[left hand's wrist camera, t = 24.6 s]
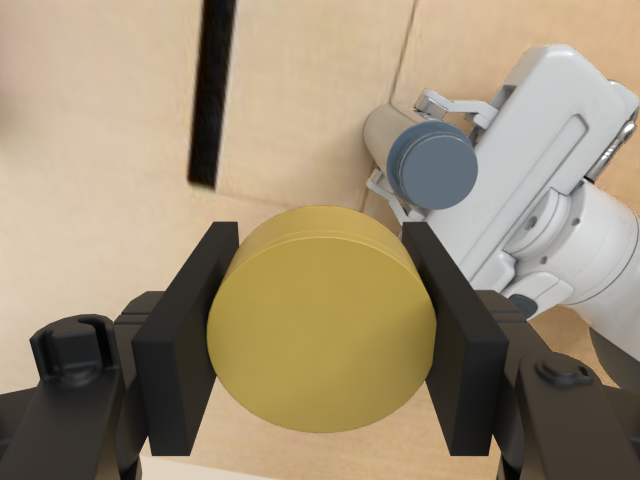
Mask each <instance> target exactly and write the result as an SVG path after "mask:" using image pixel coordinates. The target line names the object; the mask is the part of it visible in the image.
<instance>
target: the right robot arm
mask: <svg viewBox="0 0 640 480" xmlns="http://www.w3.org/2000/svg"><path fill="white" fill-rule="evenodd" d="M639 104H640V101H639V99H638V97H637V96H636V95H635V94H634V93H633V92H632V91H630V90H629V89H628V88H626V87H625V86H623V85H622V84H621V83H619V82H618V81H615V80H612V79H606V78H605V77H604V76H603V75H602V74H601V73H600V72H599V71H598V70H597V69H596V68H595V67H594V66H593V65H592V64H591V63H590V62H589V61H588V60H587V59H586V58H584V57H583V56H582V55H581V54H580V53H578V52H577V51H576V50H575V49H573V48H572V47H570V46H569V45H567V44H562V43H551V44H544V45H540V46H536V47H533V48H530V49H528V50H526V51H525V52H524V54H523V55H522V56H521V58H520V59H519V61H518V62H517V64H516V65H515V67H514V68H513V70H512V71H511V72H510V74H509V75H508V77H507V78H506V80H505V81H504V83H503V84H502V86H501V87H500V88H499V90H498V91H497V93H496V94H495V96H494V97H493V99H492V100H491V102H490V103H489V104H487V103H486V102H483V101H478V100H447V99H446V98H444V97H443V96H441V95H439V94H438V93H436V92H435V91H433V90H431V89H429V88H425V89H424V91H423V92H422V94H421V95H420V97H419V99H418V100H417V102H416V104H415V105H414V108H415V109H416V110H418V111H421V112H423V113H426V114H428V115H431V116H433V117H436V118H438V119H441V120H442V118H443V117H444V115H445V114H446V112H466V113H465V115H464V119H465V120H467V121H468V122H470V123H471V124H473V125H474V126H473V128H472V129H471V131H470V132H469V134H468V135H467V137H468V139H469V140H470V142H471V144H472V147H473V149H474V152H475V154H476V157H477V163H478V176H477V180H476V183H475V185H474V187H473V189H472V191H471V192H470V193H469V195H468V196H467V197H466V198H465V199H464V200H463V201H461V202H460V203H458V204H457V205H455V206H453V207H450V208H447V209H442V210H430V209H426V208H422V207H418V208H417V207H416V206H413V205H410V204H408V203H405V204H404V206H403V208H402V206H401V205H400V203H399V201H398V199H397V197H396V195H395V194H394V191H393V190H392V188H391V187H390V185H389V183H388V182H387V180H386V178H385V177H384V175H383V173H382V172H381V170H380V169H379V167H378V166H376V167H375V169H374V170H373V172H372V174H371V175H370V177H369V178H368V180H367V181H366V186H367V187H368V188H369V189H371V190H372V191H373V192H375V193H377V194H379V195H380V196H382V197H384V198H386V199H387V201H388V203H389V205H390V207H391V208H392V210H393V212H394V214H395V216H396V218H397V219H398V221H399V223H400V225H401V226H403V222H427V223H428V224H429V226H430V227H431V229H432V230H433V232H434V233H435V234H436V236H437V237H438V239H439V240H440V242H441V243H442V245H443V246H444V247H445V249H446V250H447V252H448V253H449V255H450V256H451V257H452V259H453V260H454V262H455V263H456V265H457V266H458V268H459V269H460V270H461V272H462V273H463V275H464V276H465V278H466V279H467V280H468V282H469V283H470V285H471V286H472V288H473V289H474V290H495V291H496V292H498V293H500V294H501V295H503V296H505V297H506V298H508V299H509V300H510V301H511V302H512V303H513V304H514V305H515V307H516V308H517V309H518V310H519V313H520V314H522V315H523V316H524V318H525V319H526V320H527V321H529V320H531V319H532V318H534V317H535V316H537V315H539V314H540V313H542V312H544V311H546V310H548V309H549V308H551V307H553V306H555V305H559V306H563V307H567V308H570V309H573V310H575V311H576V312H577V314H578V315H579V316H580V317H581V318H582V319H583V320H584V321H585V322H587V323H588V324H589V325H591V327H589V330H590V336H591V340H592V343H593V346H594V349H595V351H596V354H597V357H598V359H599V362H600V364H601V366H602V367H603V369H604V370H605V371H606V373H607V374H608V375H609V376H610V378H611V379H612V380H613V381H614V382H615V383H616V384H617V385H618V386H619V387H620V388H621V389H624V390H629V391H634V392H639V393H640V218H639V216H638V215H637V214H636V213H635V212H634V211H633V210H632V209H630V208H629V207H628V206H626V205H625V204H623V203H622V202H620V201H619V200H617V199H615V198H614V197H612V196H611V195H609V194H608V193H606V192H605V191H603V190H601V189H600V188H599V187H597V186H595V185H594V184H595V183H594V182H595V181H596V180H597V178H598V177H599V176H600V175H601V173H602V172H603V171H604V170H605V169H606V167H607V166H608V165H609V163H610V162H611V160H612V159H613V156H615V154H616V153H617V151H618V150H619V149H620V148H621V147H622V145H623V144H625V143H626V142H627V141H628V140H629V139H630V138H631V137H632V135H633V134H634V132H635V130H636V129H637V125H636V124H634V123H635V121H636V119H637V117H638V114H639ZM629 117H630V118H629ZM628 118H629V121H628ZM397 238H398V239H399V240H400V242H401V239H402V231H401V233H400V234H399V236H398V237H397Z"/></svg>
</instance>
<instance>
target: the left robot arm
mask: <svg viewBox="0 0 640 480" xmlns="http://www.w3.org/2000/svg"><path fill="white" fill-rule="evenodd" d="M401 243H402V244H403V245H404V247H405V248H406V250H407V252H408V254H409V255H410V257H411V259H412V261H413V263H414V265H415V267H416V270H417V272H418V274H419V276H420V278H421V280H422V282H423V284H424V286H425V288H426V291H427V293H428V295H429V297H430V299H431V302H432V304H433V307H434V310H435V314H436V319H437V324H436V334H435V343H434V352H433V361H432V366H431V369H430V371H429V373H428V375H427V377H426V379H425V381H426V384H427V387H428V390H429V393H430V396H431V399H432V402H433V405H434V408H435V411H436V414H437V417H438V420H439V423H440V426H441V429H442V432H443V435H444V438H445V441H446V444H447V447H448V450H449V453H450V456H488V455H489V450H490V444H491V439H492V434H493V435H494V438H495V440H496V442H497V444H498V446H499V448H500V450H501V457H500V462H499V467H498V472H497V477H496V480H640V393H639V392H634V391H629V390H624V389H619V388H614V387H610V386H606V385H602V383H601V380H600V379H599V377H598V376H597V375H596V374H595V372H594V371H593V370H592V369H591V368H589V367H588V366H587V365H585V364H584V363H582V362H581V361H579V360H577V359H574V358H572V357H570V356H568V355H565V354H561V353H556V352H552V351H551V349H550V348H549V347H548V346H547V344H546V343H545V342H544V341H543V340H542V338H541V337H540V336H539V335H538V334H537V332H536V331H535V330H534V329H533V327H532V326H531V325H530V324H529V323H527V320H526V319H525V318H524V316H523V315H522V314H520V313H519V310H518V309H517V308H516V307H515V305H514V304H513V303H512V302H511V301H510V300H509V299H508V298H506V297H505V296H503V295H501V294H500V293H498V292H496V291H495V290H474V289H473V288H472V286H471V285H470V283H469V282H468V280H467V279H466V278H465V276H464V275H463V273H462V272H461V270H460V269H459V268H458V266H457V265H456V263H455V262H454V260H453V259H452V257H451V256H450V255H449V253H448V252H447V250H446V249H445V247H444V246H443V245H442V243H441V242H440V240H439V239H438V237H437V236H436V234H435V233H434V232H433V230H432V229H431V227H430V226H429V224H428V223H427V222H403V226H402V239H401ZM238 248H239V235H238V222H213V223H212V225H211V226H210V228H209V229H208V231H207V232H206V233H205V235H204V236H203V238H202V239H201V241H200V242H199V244H198V245H197V246H196V248H195V249H194V251H193V252H192V254H191V255H190V256H189V258H188V259H187V261H186V262H185V264H184V265H183V267H182V268H181V269H180V271H179V272H178V274H177V275H176V277H175V278H174V279H173V281H172V282H171V284H170V285H169V287H168V288H167V290H166V291H147V292H145V293H143V294H142V295H140V296H138V297H137V298H135V299H134V300H132V301H131V302H130V303H129V304H128V305H127V306H126V308H125V309H124V310H123V311H122V313H121V315H119V316H118V318H117V319H116V320H115V321H114V324H113V321H112V320H110V319H109V318H108V317H106V316H102V315H97V314H83V315H76V316H72V317H67V318H63V319H61V320H58V321H55V322H53V323H50V324H48V325H47V326H45V327H43V328H42V329H40V330H38V331H37V332H36V333H35V334H34V335H33V336H32V337H31V338H30V339H29V340H30V344H31V347H32V351H33V355H34V358H35V362H36V365H37V369H38V372H39V376H40V381H39V383H38V385H37V387H34V388H30V389H26V390H21V391H16V392H11V393H6V394H1V395H0V480H141V478H142V468H141V462H140V457H139V453H140V451H141V449H142V447H143V445H144V443H145V440H146V438H147V436H148V437H149V443H150V448H151V454H152V456H190V453H191V450H192V448H193V445H194V442H195V439H196V436H197V433H198V430H199V427H200V424H201V421H202V418H203V415H204V412H205V409H206V406H207V403H208V400H209V397H210V394H211V391H212V388H213V385H214V382H215V379H216V376H217V375H216V373H215V370H214V368H213V366H212V364H211V360H210V356H209V353H208V348H207V339H206V333H207V321H208V316H209V311H210V308H211V306H212V303H213V300H214V298H215V296H216V293H217V291H218V289H219V287H220V285H221V283H222V280H223V278H224V276H225V274H226V272H227V270H228V267H229V265H230V263H231V261H232V259H233V257H234V255H235V253H236V251H237V250H238Z"/></svg>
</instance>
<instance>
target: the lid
mask: <svg viewBox="0 0 640 480" xmlns="http://www.w3.org/2000/svg"><path fill="white" fill-rule="evenodd" d="M436 324H437V319H436V314H435V310H434V307H433V304H432V302H431V299H430V297H429V295H428V293H427V291H426V288H425V286H424V284H423V282H422V280H421V278H420V276H419V274H418V272H417V270H416V267H415V265H414V263H413V261H412V259H411V257H410V255H409V254H408V252H407V250H406V248H405V247H404V245H403V244H402V243H401V242H400V240H399V239H398V238H397V237H396V236H395V235H394V234H393V233H392V232H391V231H390V230H389V229H388V228H387V227H385V226H384V225H382V224H381V223H380V222H378V221H377V220H375V219H373V218H371V217H369V216H368V215H365V214H363V213H360V212H358V211H355V210H351V209H347V208H343V207H337V206H328V205H323V206H307V207H300V208H297V209H293V210H289V211H286V212H284V213H281V214H279V215H276V216H274V217H273V218H271V219H269V220H267V221H266V222H264V223H263V224H261V225H260V226H259V227H257V228H256V229H255V230H254V231H253V232H252V233H251V234H250V235H249V236H248V237H247V238H246V239H245V240H244V241H243V243H242V244H241V245H240V247H239V248H238V250H237V251H236V253H235V255H234V257H233V259H232V261H231V263H230V265H229V267H228V270H227V272H226V274H225V276H224V278H223V280H222V283H221V285H220V287H219V289H218V291H217V293H216V296H215V298H214V300H213V303H212V306H211V308H210V311H209V316H208V321H207V333H206V339H207V348H208V353H209V356H210V360H211V364H212V366H213V368H214V370H215V373H216V375H217V377H218V378H219V380H220V381H221V383H222V385H223V386H224V387H225V389H226V390H227V391H228V392H229V394H230V395H231V396H232V397H233V398H234V399H235V400H236V401H237V402H238V403H239V404H240V405H242V406H243V407H244V408H246V409H247V410H248V411H250V412H251V413H253V414H254V415H256V416H258V417H260V418H261V419H263V420H265V421H268V422H270V423H272V424H275V425H278V426H281V427H284V428H287V429H291V430H296V431H301V432H310V433H334V432H343V431H348V430H353V429H357V428H360V427H363V426H366V425H370V424H372V423H374V422H376V421H379V420H381V419H383V418H384V417H386V416H388V415H390V414H391V413H393V412H394V411H396V410H397V409H398V408H400V407H401V406H402V405H404V404H405V403H406V402H407V401H408V400H409V399H410V398H411V397H412V396H413V395H414V394H415V393H416V391H417V390H418V389H419V388H420V386H421V385H422V384H423V382H424V380H425V379H426V377H427V375H428V373H429V371H430V369H431V366H432V361H433V352H434V343H435V334H436Z"/></svg>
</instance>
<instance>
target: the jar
mask: <svg viewBox="0 0 640 480" xmlns="http://www.w3.org/2000/svg"><path fill="white" fill-rule="evenodd" d="M363 136H364V142H365V145H366V147H367V149H368V150H369V152H370V154H371V155H372V157H373V159H374V160H375V162H376V164H377V165H378V167H379V169H380V170H381V172H382V173H383V175H384V177H385V178H386V180H387V182H388V183H389V185H390V187H391V188H392V190H393V191H394V193H395V194H396V195H397V196H398V197H399V198H400V199H402V200H403V201H404V202H406V203H408V204H410V205H413V206H416V207H422V208H426V209H430V210H442V209H447V208H450V207H453V206H455V205H457V204H458V203H460V202H461V201H463V200H464V199H465V198H466V197H467V196H468V195H469V193H470V192H471V191H472V189H473V187H474V185H475V183H476V180H477V176H478V163H477V157H476V154H475V152H474V149H473V147H472V144H471V142H470V140H469V139H468V137H467V136H466V134H465V133H464V132H463V131H462V130H461V129H459V128H458V127H457V126H455V125H453V124H451V123H449V122H446V121H443V120H441V119H438V118H436V117H433V116H431V115H428V114H426V113H423V112H421V111H418V110H415V109H413V108H410V107H408V106H405V105H403V104H399V103H389V104H385V105H382V106H380V107H378V108H377V109H375V110H374V111H373V112H372V113H371V114H370V116H369V117H368V119H367V120H366V123H365V126H364V131H363Z"/></svg>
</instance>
